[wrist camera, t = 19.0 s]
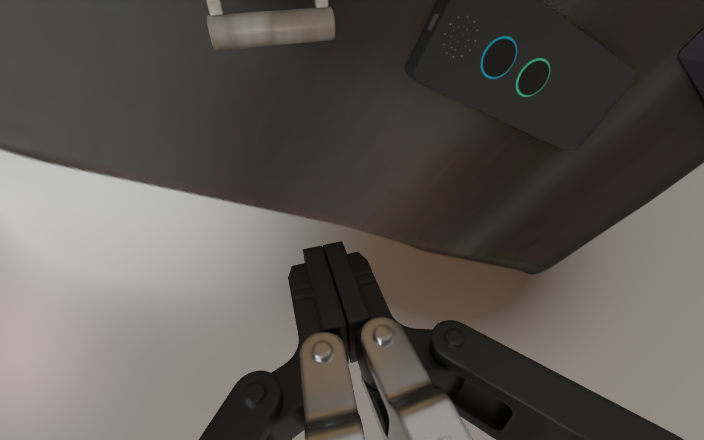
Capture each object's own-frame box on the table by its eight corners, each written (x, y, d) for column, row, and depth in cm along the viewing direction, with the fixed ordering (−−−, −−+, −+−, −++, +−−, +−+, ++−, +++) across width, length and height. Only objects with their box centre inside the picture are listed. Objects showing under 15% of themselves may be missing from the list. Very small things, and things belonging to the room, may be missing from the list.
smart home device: (476, -52, 21) (641, 72, 30) (462, -52, 22) (624, 67, 31) (409, 82, 25) (573, 155, 34) (401, 75, 26) (560, 147, 35)
